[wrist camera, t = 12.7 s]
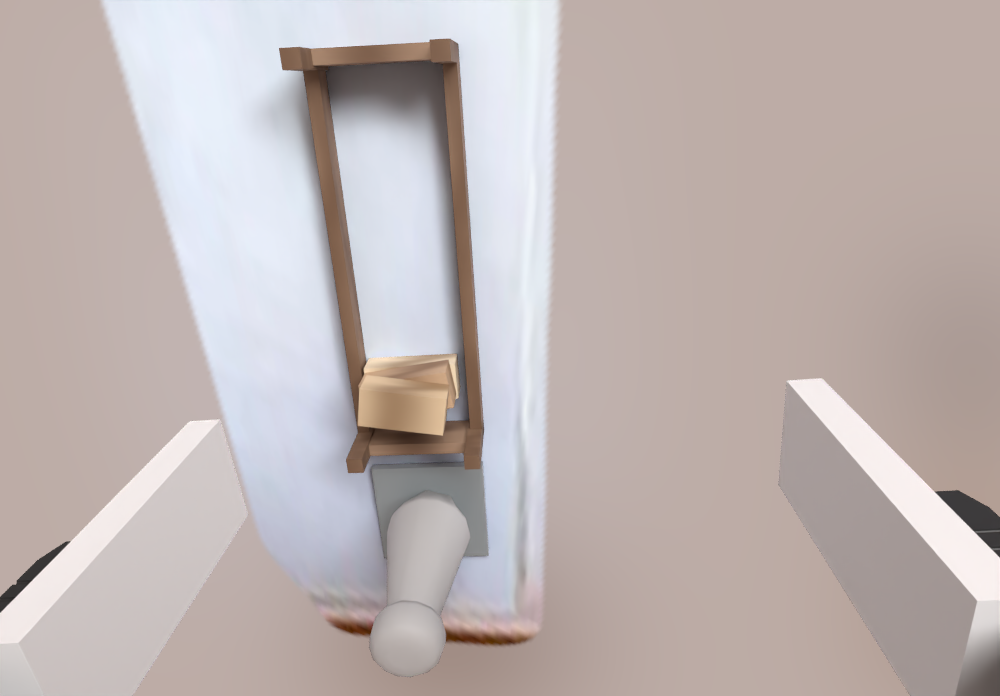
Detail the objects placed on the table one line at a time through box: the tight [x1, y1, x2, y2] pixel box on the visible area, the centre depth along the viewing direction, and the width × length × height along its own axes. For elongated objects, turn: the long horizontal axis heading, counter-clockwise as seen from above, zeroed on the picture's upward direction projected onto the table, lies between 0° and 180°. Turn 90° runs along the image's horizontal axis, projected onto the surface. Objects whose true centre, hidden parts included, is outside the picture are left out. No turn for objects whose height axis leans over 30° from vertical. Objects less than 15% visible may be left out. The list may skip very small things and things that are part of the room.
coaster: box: [371, 461, 489, 558], centre depth 48 cm, size 8×8×1 cm
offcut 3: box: [358, 375, 449, 436], centre depth 40 cm, size 5×2×2 cm, turn 83°
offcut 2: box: [358, 359, 456, 409], centre depth 42 cm, size 6×2×2 cm, turn 100°
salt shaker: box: [369, 490, 470, 677], centre depth 42 cm, size 6×6×13 cm
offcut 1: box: [364, 354, 460, 399], centre depth 44 cm, size 6×2×2 cm, turn 94°
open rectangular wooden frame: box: [279, 39, 484, 473], centre depth 39 cm, size 8×25×5 cm, turn 3°
